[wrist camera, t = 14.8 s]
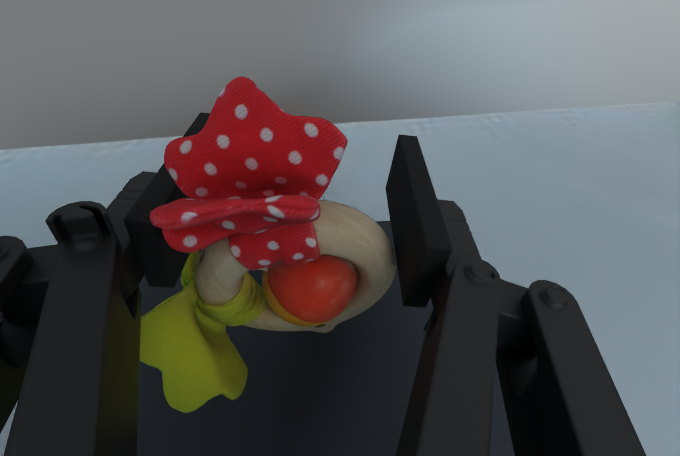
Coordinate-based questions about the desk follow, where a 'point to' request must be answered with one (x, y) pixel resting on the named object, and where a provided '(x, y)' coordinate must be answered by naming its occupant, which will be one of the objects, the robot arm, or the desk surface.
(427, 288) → the robot arm
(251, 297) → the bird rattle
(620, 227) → the desk surface
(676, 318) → the desk surface
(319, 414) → the mat
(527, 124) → the desk surface
